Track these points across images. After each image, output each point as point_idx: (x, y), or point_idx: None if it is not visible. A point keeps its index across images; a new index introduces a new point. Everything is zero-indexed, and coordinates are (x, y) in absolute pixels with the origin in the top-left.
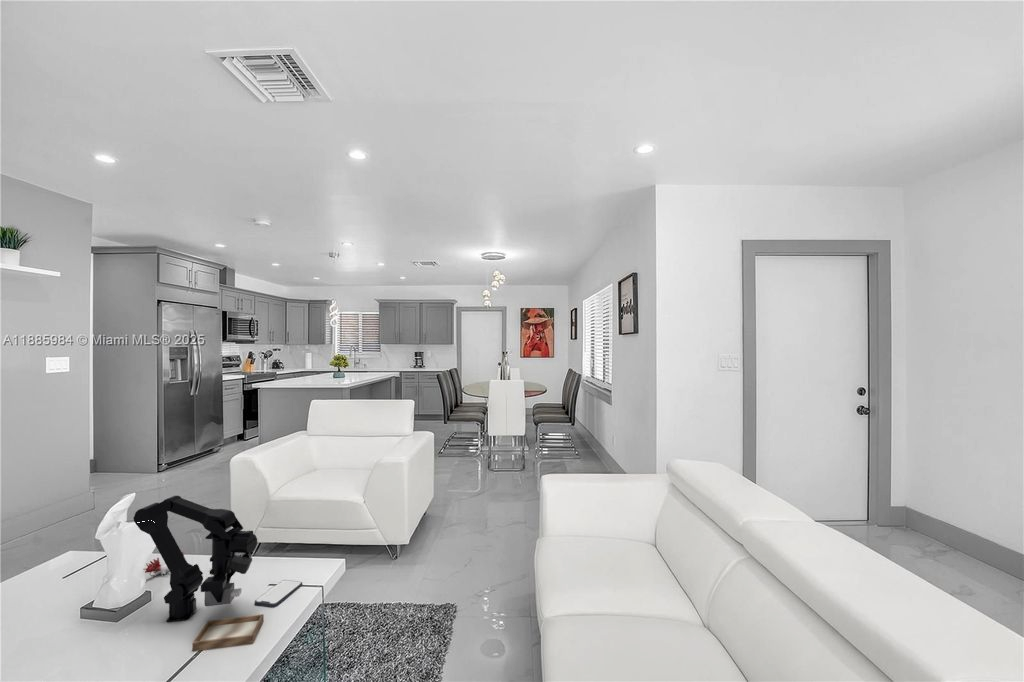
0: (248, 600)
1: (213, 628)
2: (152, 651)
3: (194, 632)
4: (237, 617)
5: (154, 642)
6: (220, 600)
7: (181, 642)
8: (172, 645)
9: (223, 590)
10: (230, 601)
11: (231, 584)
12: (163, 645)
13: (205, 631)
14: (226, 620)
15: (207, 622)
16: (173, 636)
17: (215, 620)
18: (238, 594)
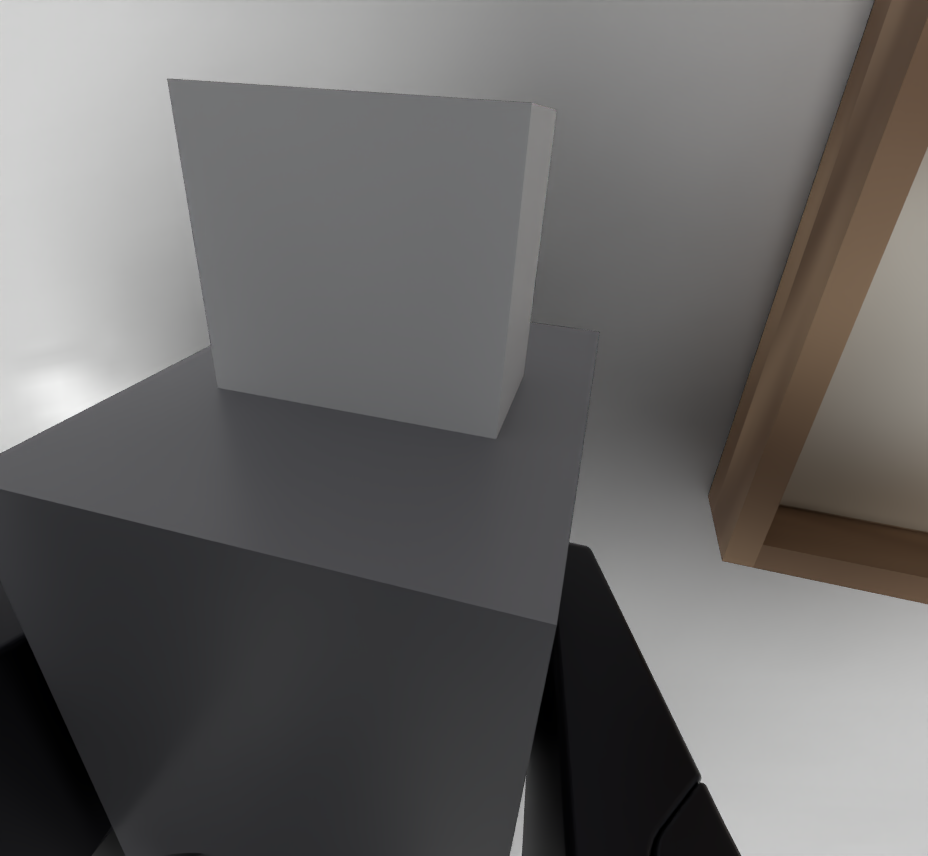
0: (128, 93)
1: (854, 444)
2: (901, 846)
3: (730, 601)
4: (914, 70)
5: (734, 826)
6: (598, 589)
7: (892, 690)
8: (900, 745)
9: (598, 824)
10: (567, 344)
11: (117, 575)
12: (841, 791)
13: (883, 528)
14: (857, 294)
15: (777, 558)
16: (706, 734)
17: (784, 468)
18: (537, 132)
